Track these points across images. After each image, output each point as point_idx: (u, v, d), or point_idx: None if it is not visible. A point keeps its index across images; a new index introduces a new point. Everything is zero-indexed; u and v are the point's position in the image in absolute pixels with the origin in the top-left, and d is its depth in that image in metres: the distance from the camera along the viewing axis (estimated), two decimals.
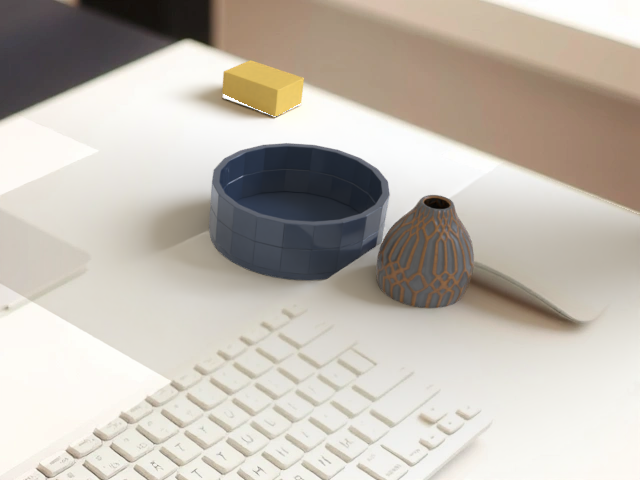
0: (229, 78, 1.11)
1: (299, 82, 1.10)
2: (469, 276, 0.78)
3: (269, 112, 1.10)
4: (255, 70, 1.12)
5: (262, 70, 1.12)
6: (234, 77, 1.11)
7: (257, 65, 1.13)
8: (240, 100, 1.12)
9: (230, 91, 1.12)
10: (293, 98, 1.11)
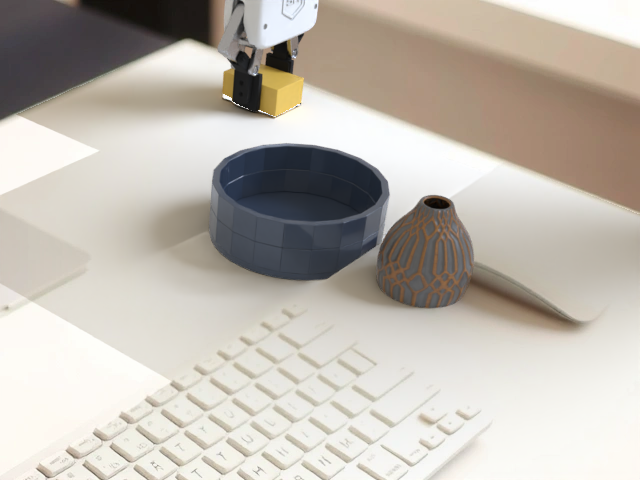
0: (229, 78, 1.11)
1: (299, 82, 1.10)
2: (469, 276, 0.78)
3: (269, 112, 1.10)
4: None
5: (262, 70, 1.12)
6: None
7: None
8: None
9: (230, 91, 1.12)
10: (293, 98, 1.11)
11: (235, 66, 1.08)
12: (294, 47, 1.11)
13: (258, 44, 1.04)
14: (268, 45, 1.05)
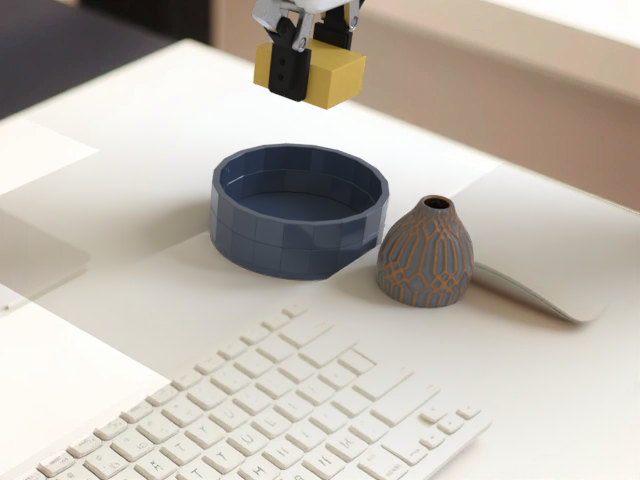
0: (264, 55, 0.82)
1: (360, 62, 0.81)
2: (469, 276, 0.78)
3: (319, 102, 0.80)
4: None
5: (308, 45, 0.82)
6: None
7: None
8: None
9: (265, 73, 0.83)
10: (351, 83, 0.81)
11: (274, 38, 0.78)
12: (354, 14, 0.81)
13: (309, 6, 0.74)
14: (322, 8, 0.75)
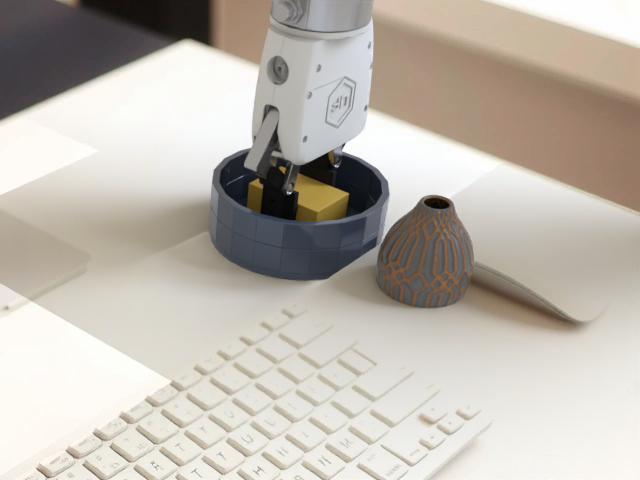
0: (256, 192, 0.90)
1: (343, 199, 0.89)
2: (469, 276, 0.78)
3: None
4: None
5: (296, 182, 0.90)
6: None
7: None
8: None
9: (257, 207, 0.91)
10: (335, 218, 0.89)
11: (265, 183, 0.86)
12: (337, 155, 0.89)
13: (296, 160, 0.82)
14: (308, 160, 0.83)
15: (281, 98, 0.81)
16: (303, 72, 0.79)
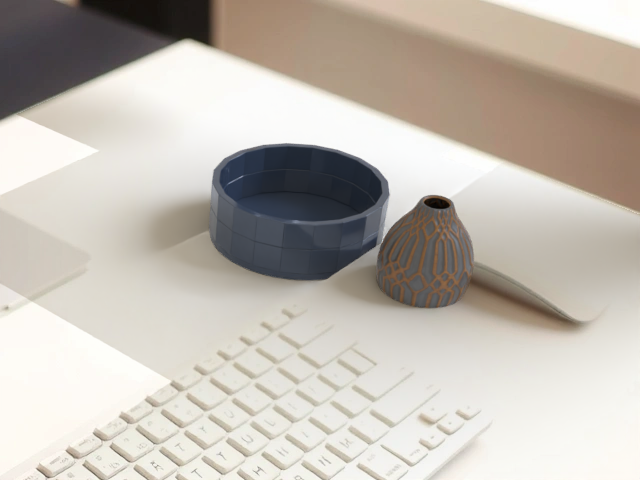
0: None
1: None
2: (469, 276, 0.78)
3: None
4: None
5: None
6: None
7: None
8: None
9: None
10: None
11: None
12: None
13: None
14: None
15: None
16: None
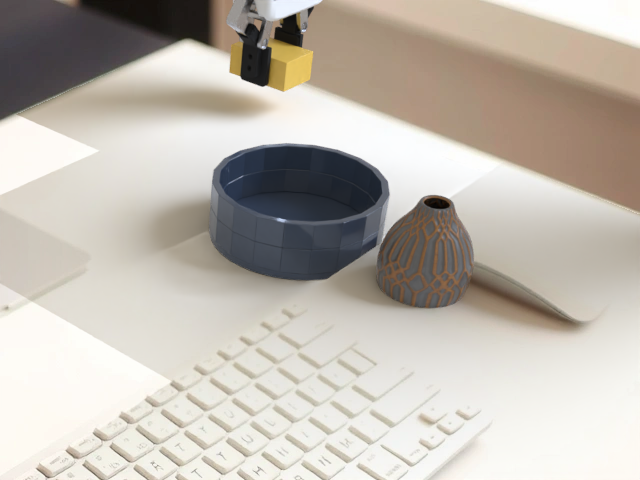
0: (237, 51, 1.09)
1: (308, 56, 1.08)
2: (469, 276, 0.78)
3: (278, 86, 1.07)
4: None
5: (270, 43, 1.10)
6: None
7: None
8: None
9: (238, 65, 1.10)
10: (302, 72, 1.08)
11: (244, 39, 1.05)
12: (304, 21, 1.08)
13: (268, 16, 1.02)
14: (278, 17, 1.02)
15: None
16: None
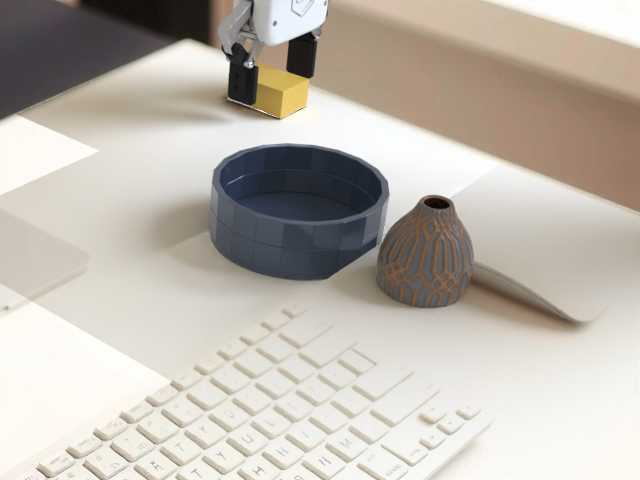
0: None
1: (305, 84, 1.10)
2: (469, 276, 0.78)
3: (274, 114, 1.09)
4: (260, 72, 1.12)
5: (267, 72, 1.12)
6: None
7: (262, 66, 1.13)
8: None
9: None
10: (298, 100, 1.10)
11: (230, 58, 1.05)
12: (318, 28, 1.10)
13: (268, 41, 1.03)
14: (278, 42, 1.04)
15: None
16: None
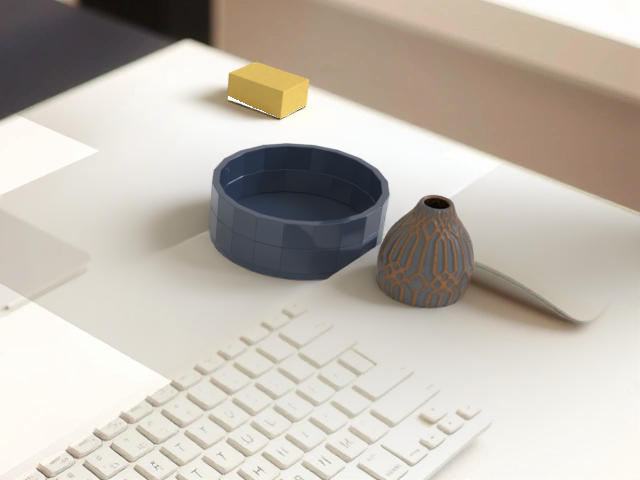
0: (234, 80, 1.11)
1: (305, 84, 1.10)
2: (469, 276, 0.78)
3: (274, 114, 1.09)
4: (260, 72, 1.12)
5: (267, 72, 1.12)
6: (240, 79, 1.11)
7: (262, 66, 1.13)
8: (245, 102, 1.11)
9: (235, 93, 1.12)
10: (298, 100, 1.10)
11: None
12: None
13: None
14: None
15: None
16: None
